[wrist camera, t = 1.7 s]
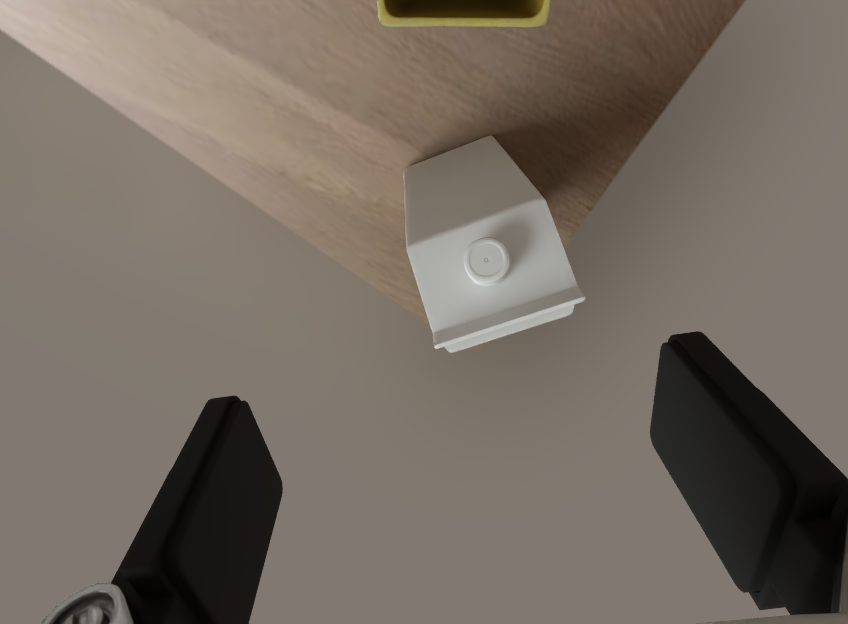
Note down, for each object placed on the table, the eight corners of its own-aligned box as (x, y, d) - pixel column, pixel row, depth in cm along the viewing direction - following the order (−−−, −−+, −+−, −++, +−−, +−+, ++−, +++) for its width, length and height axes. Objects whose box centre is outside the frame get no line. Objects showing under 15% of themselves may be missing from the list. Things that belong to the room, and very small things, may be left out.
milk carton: (515, 219, 39) (598, 358, 23) (433, 248, 40) (457, 401, 24) (491, 133, 36) (570, 227, 20) (402, 168, 37) (406, 284, 21)
